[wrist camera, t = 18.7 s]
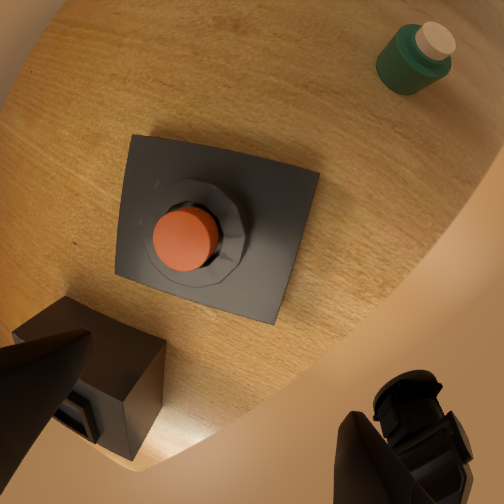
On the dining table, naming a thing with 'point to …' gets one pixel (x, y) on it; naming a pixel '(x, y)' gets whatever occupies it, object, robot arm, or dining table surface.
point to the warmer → (106, 377)
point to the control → (226, 217)
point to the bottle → (416, 57)
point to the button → (185, 238)
